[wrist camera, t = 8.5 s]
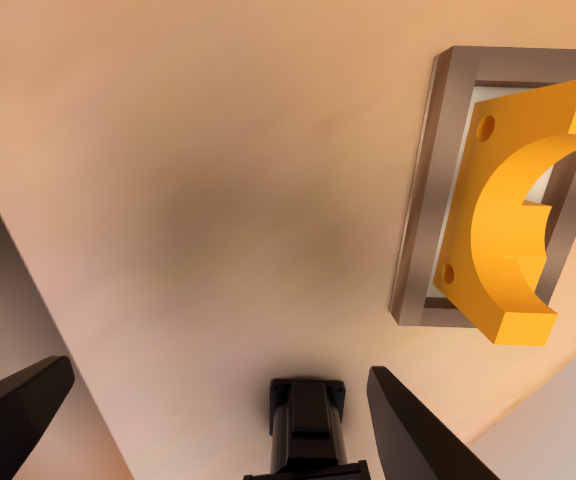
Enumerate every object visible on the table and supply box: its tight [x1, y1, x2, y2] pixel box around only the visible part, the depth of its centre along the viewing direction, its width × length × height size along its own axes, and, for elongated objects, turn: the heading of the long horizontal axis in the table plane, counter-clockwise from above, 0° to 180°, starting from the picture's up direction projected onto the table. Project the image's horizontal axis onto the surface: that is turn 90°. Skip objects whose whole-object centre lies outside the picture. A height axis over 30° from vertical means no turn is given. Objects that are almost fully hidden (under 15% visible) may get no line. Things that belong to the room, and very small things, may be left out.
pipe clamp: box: [432, 80, 576, 346], centre depth 15 cm, size 12×4×6 cm, turn 178°
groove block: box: [389, 46, 576, 328], centre depth 18 cm, size 17×10×2 cm, turn 178°
